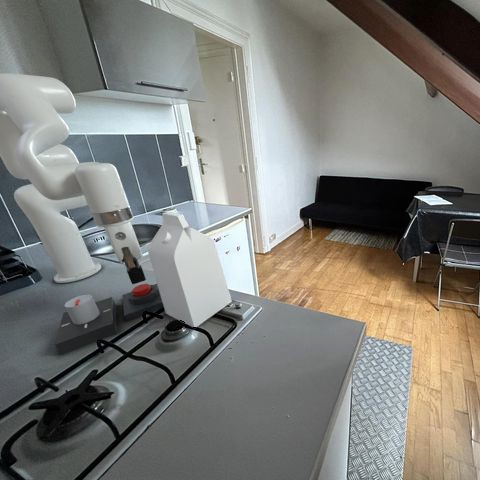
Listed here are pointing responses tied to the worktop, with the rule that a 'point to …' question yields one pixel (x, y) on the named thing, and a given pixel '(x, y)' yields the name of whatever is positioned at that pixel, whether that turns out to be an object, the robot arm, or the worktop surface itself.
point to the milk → (187, 271)
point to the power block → (141, 303)
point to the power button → (141, 290)
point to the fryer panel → (87, 328)
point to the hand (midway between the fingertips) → (139, 281)
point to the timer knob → (82, 309)
